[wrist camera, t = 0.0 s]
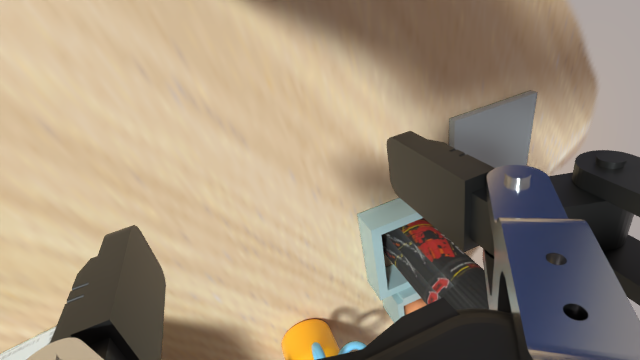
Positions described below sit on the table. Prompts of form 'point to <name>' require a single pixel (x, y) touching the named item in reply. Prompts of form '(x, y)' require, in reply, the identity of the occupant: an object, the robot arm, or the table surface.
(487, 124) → the coaster
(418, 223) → the deodorant
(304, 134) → the table surface
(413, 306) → the brown egg
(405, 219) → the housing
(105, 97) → the table surface
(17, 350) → the tea box
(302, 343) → the multicoloured piece
